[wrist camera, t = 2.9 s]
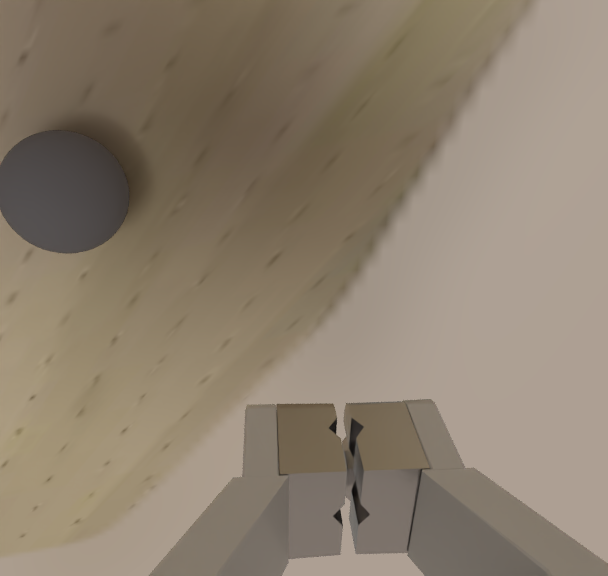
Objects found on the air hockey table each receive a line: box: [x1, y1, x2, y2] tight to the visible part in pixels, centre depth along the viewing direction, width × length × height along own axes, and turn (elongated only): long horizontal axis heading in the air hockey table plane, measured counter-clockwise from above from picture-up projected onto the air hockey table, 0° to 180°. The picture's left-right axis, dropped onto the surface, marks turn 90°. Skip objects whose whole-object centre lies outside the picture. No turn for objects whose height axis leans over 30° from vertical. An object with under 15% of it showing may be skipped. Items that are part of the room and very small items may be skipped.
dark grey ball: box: [0, 130, 129, 253], centre depth 21 cm, size 5×5×5 cm
